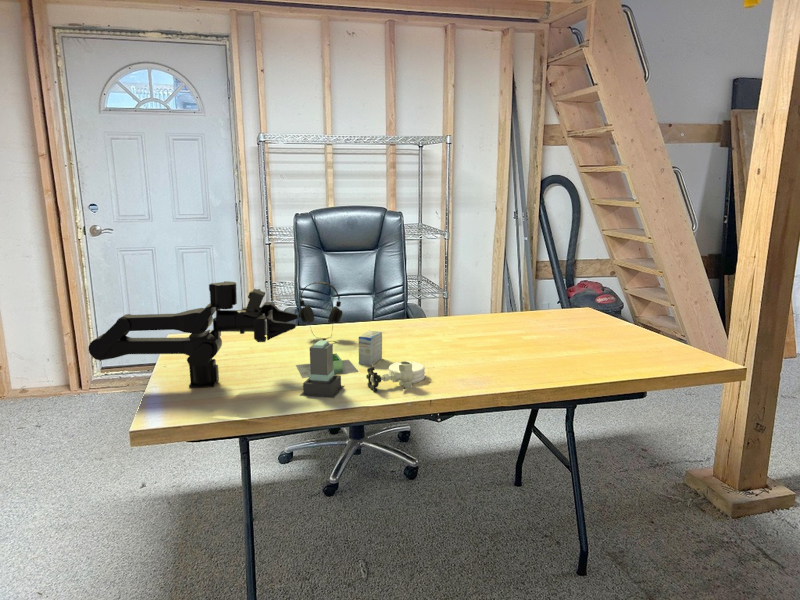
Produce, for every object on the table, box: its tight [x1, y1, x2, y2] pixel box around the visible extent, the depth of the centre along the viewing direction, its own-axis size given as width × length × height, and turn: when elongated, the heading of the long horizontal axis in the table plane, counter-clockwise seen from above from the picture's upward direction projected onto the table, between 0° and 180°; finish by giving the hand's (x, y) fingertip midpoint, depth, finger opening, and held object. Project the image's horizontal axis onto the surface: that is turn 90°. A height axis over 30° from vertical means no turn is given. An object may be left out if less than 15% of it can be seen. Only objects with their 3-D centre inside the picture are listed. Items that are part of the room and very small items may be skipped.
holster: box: [299, 374, 345, 399], centre depth 145 cm, size 9×9×4 cm
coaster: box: [388, 361, 426, 384], centre depth 156 cm, size 10×10×4 cm
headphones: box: [298, 281, 344, 345], centre depth 193 cm, size 15×11×20 cm
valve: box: [365, 360, 414, 393], centre depth 148 cm, size 7×7×12 cm
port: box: [295, 353, 359, 379], centre depth 162 cm, size 16×12×4 cm
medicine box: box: [358, 330, 383, 367], centre depth 170 cm, size 8×4×9 cm, turn 159°
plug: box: [309, 339, 334, 384], centre depth 144 cm, size 5×5×13 cm
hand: (296, 321), depth 152 cm, fingers open, 9 cm apart
